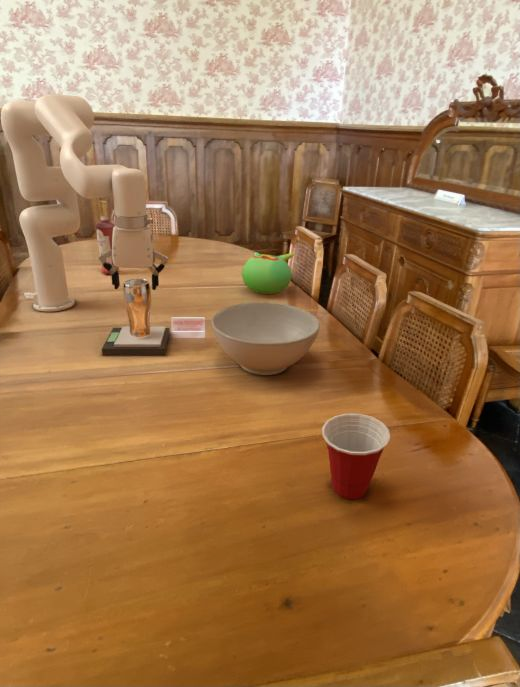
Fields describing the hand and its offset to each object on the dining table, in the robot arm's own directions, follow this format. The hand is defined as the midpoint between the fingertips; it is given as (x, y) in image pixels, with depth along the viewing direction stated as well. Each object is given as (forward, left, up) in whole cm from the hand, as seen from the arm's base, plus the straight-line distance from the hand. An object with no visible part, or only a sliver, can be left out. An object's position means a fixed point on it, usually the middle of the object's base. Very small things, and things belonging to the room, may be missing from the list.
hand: (135, 287), depth 123 cm
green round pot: (+39, +45, -16) cm, 61 cm away
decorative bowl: (+33, -12, -16) cm, 39 cm away
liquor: (-23, +67, -16) cm, 72 cm away
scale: (-1, 0, -16) cm, 16 cm away
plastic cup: (+44, -58, -16) cm, 75 cm away
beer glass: (0, 0, -14) cm, 14 cm away
